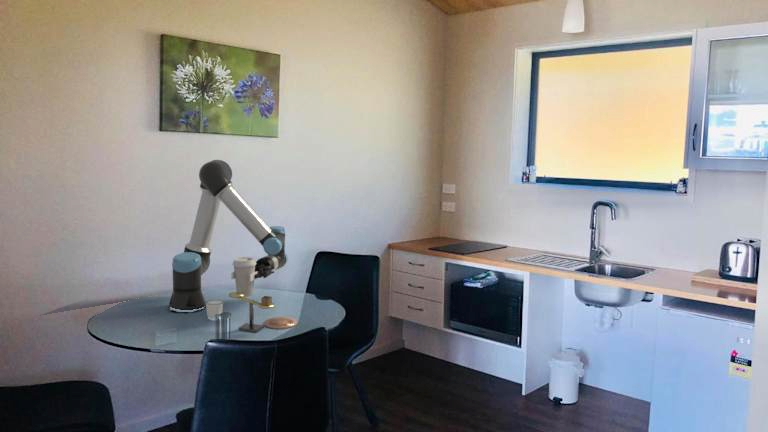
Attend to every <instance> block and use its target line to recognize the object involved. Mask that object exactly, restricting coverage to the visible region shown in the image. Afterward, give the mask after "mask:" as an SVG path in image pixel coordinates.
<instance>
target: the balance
mask: <svg viewBox="0 0 768 432" xmlns="http://www.w3.org/2000/svg"><path fill="white" fill-rule="evenodd" d="M243 296H244V293H242V292H237V291H232V292H230V293H228V297H229V298H235V299H238V300H241V301H244V302H246V303H249V309H248V310H249V312H248V313H249V322H245V323H244V324H242V325H240V326H239V327H238V331H243V332H249V333H255V334H256V333H257V334H258V333H259V332H261V331H262V330H263V329H264V328H265V324H254V320H255V319H254V313H255V312H254V310H255V309H254V307H255V306H257V307H258V308H259V309H266V310H268V309H273V308H274V307H275V304H274V302H273V297H272V296H267V295H264V296H263V297H261V301H260V302H261V303H260V302H258V301H255V300H252V299H250V298H247V297H243ZM254 305H255V306H254Z"/></svg>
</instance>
